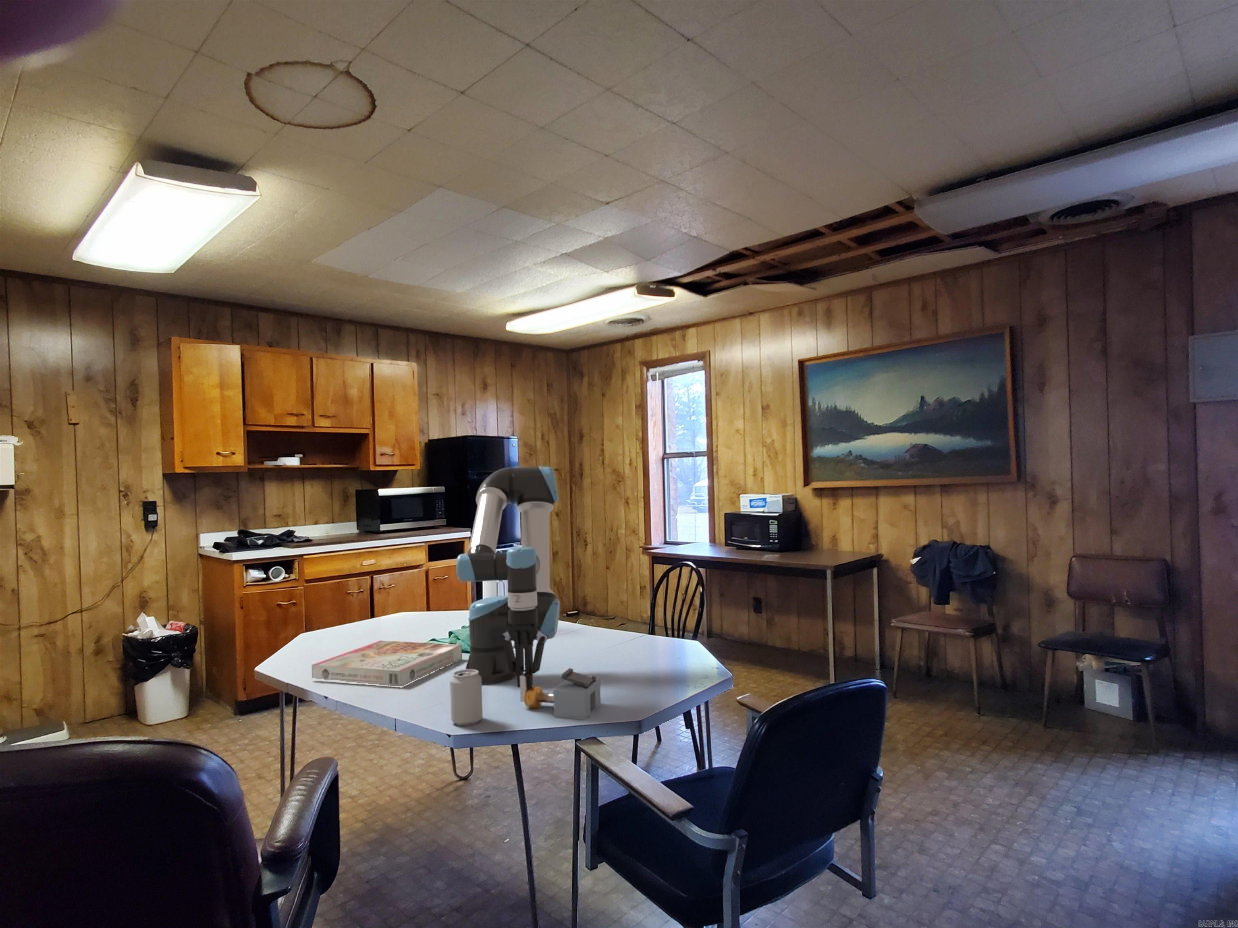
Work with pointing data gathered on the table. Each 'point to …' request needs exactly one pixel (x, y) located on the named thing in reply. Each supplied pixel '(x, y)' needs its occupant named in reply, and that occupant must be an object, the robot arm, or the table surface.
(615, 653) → the table surface
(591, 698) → the bracket
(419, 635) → the table surface
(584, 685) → the plate
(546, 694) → the pin
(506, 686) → the table surface
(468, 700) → the can
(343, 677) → the pizza box
